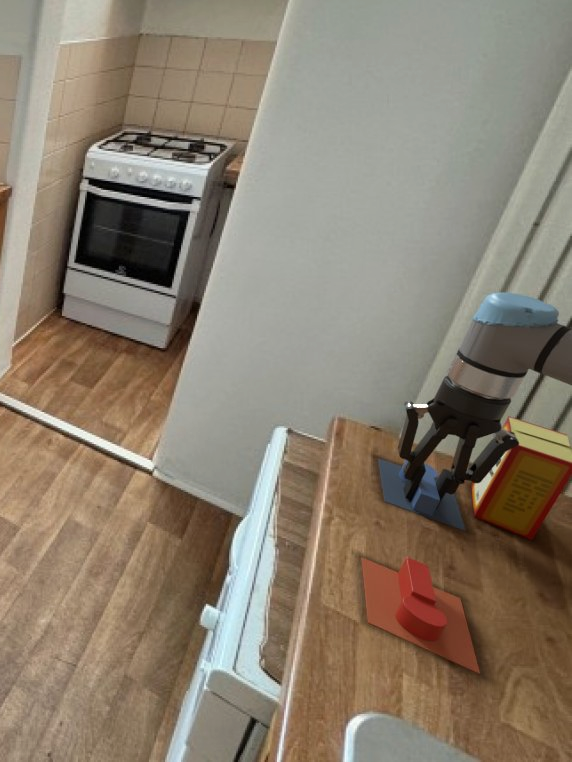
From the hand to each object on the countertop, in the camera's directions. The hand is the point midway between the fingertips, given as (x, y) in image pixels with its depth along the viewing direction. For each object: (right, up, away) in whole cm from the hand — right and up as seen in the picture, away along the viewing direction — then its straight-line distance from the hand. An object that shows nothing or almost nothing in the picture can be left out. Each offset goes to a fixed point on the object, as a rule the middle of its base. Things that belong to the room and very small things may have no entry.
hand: (419, 498), depth 103 cm
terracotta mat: (-19, -8, -18) cm, 28 cm away
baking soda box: (+12, -2, -2) cm, 12 cm away
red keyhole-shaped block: (-19, -7, -18) cm, 27 cm away
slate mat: (+2, 0, +2) cm, 3 cm away
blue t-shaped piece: (+1, 0, +2) cm, 2 cm away
